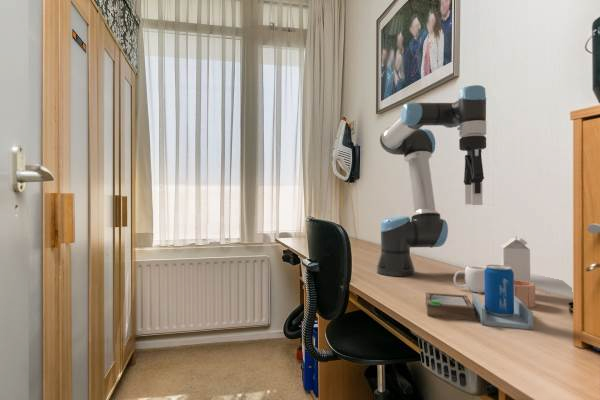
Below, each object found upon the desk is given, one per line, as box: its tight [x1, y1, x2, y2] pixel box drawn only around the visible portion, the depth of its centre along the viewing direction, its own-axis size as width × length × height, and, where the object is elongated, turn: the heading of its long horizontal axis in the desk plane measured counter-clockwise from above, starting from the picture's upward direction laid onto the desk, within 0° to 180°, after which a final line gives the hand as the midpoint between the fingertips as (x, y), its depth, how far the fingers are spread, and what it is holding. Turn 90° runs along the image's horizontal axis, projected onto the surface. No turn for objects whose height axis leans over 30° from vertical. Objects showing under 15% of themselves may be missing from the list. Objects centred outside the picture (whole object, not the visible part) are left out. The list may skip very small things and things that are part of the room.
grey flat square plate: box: [431, 295, 467, 306], centre depth 93 cm, size 8×8×1 cm
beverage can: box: [484, 264, 514, 317], centre depth 87 cm, size 6×6×12 cm
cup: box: [514, 280, 536, 309], centre depth 99 cm, size 8×8×6 cm
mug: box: [453, 265, 487, 294], centre depth 113 cm, size 12×8×8 cm
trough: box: [471, 292, 534, 331], centre depth 87 cm, size 14×11×4 cm
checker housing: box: [425, 292, 475, 321], centre depth 93 cm, size 12×11×4 cm
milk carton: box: [500, 233, 531, 282], centre depth 109 cm, size 7×7×19 cm
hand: (473, 204), depth 106 cm, fingers open, 13 cm apart
